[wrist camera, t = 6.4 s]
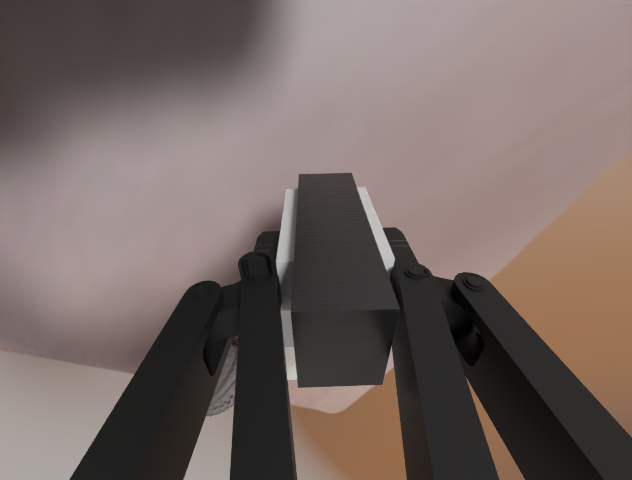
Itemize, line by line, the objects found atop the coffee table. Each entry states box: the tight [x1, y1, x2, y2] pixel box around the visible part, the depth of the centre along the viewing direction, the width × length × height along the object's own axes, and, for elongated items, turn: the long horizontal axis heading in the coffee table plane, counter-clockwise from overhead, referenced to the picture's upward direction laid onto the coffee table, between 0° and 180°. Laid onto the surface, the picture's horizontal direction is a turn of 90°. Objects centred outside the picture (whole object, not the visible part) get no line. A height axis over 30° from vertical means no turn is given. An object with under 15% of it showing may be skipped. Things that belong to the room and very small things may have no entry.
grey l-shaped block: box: [281, 173, 400, 388], centre depth 16 cm, size 7×15×10 cm, turn 1°
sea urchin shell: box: [206, 344, 238, 416], centre depth 39 cm, size 13×14×8 cm
